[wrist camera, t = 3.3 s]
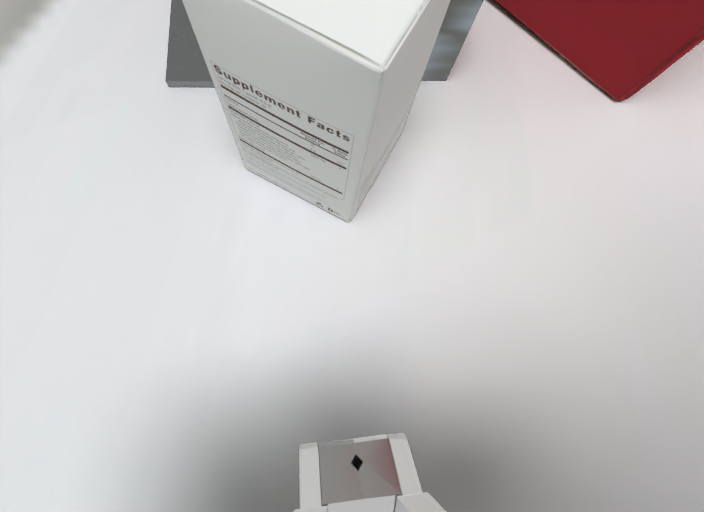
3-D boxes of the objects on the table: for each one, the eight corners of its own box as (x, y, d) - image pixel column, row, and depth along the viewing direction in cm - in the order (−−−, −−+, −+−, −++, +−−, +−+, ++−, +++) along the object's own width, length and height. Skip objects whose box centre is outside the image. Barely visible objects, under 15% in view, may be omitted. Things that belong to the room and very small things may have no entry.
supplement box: (303, 80, 29) (292, -189, 15) (403, 132, 29) (491, -92, 14) (240, 168, 27) (152, -54, 12) (348, 227, 26) (388, 68, 12)
